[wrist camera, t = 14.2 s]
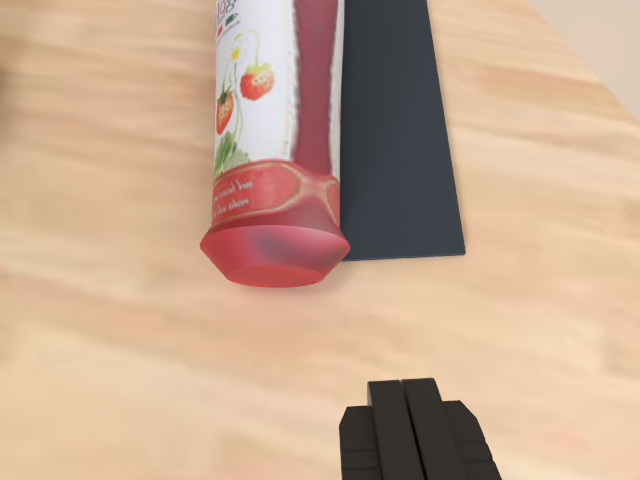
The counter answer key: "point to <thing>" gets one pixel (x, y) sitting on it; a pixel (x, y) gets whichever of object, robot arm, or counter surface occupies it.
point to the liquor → (277, 142)
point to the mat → (394, 137)
